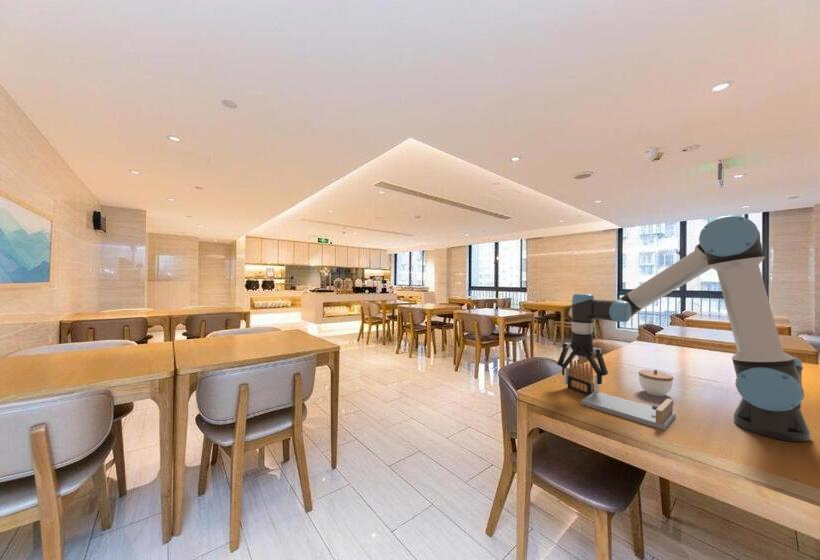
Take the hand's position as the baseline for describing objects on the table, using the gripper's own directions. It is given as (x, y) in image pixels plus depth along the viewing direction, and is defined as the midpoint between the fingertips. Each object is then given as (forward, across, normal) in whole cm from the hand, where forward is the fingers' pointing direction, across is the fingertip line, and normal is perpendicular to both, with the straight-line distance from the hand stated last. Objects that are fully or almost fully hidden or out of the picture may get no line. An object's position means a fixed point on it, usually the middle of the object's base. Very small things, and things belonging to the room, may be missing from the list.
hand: (581, 387), depth 124 cm
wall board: (+2, -17, +6) cm, 18 cm away
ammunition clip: (+2, 0, 0) cm, 2 cm away
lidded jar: (+2, -19, -22) cm, 29 cm away
